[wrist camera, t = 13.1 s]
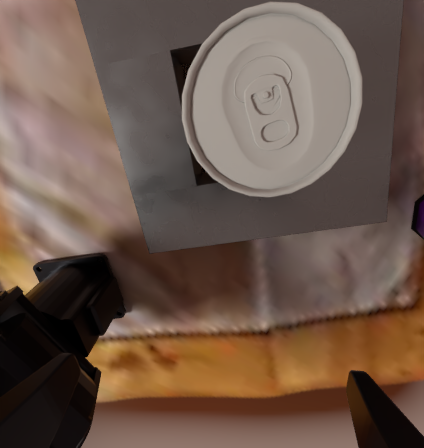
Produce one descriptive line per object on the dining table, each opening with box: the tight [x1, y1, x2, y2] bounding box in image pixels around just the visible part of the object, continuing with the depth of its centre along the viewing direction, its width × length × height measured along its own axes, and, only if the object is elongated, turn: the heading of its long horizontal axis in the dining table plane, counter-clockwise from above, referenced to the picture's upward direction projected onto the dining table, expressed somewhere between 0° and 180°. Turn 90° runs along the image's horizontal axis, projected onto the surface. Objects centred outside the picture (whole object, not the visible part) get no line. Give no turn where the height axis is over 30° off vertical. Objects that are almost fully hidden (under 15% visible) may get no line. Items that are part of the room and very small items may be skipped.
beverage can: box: [182, 2, 362, 197], centre depth 12 cm, size 5×5×12 cm
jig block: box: [75, 0, 403, 254], centre depth 16 cm, size 15×15×4 cm
